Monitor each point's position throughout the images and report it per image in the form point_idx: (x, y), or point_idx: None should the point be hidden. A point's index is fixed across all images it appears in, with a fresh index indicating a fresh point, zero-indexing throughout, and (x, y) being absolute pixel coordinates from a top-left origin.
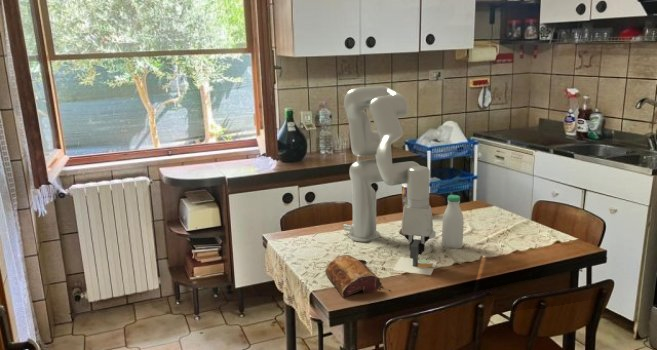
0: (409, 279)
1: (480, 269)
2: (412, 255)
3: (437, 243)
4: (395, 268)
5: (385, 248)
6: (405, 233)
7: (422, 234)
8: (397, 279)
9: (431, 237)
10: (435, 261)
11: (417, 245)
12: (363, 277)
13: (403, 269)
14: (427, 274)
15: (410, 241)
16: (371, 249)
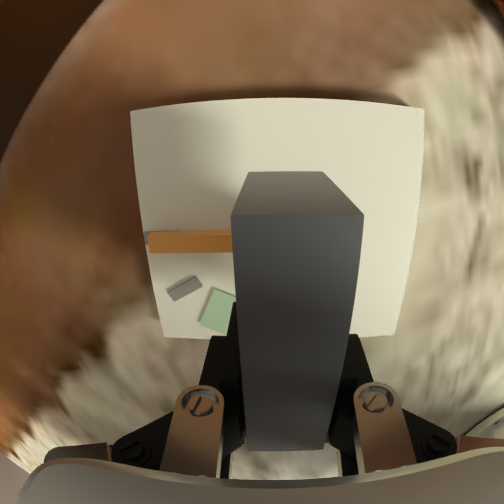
0: (276, 41)
1: (8, 312)
2: (298, 179)
3: (243, 476)
4: (412, 141)
5: (447, 401)
6: (493, 456)
7: (139, 501)
8: (356, 22)
9: (86, 455)
10: (171, 334)
11: (235, 287)
12: None
13: (354, 137)
14: (153, 110)
15: (369, 396)
16: (498, 370)
